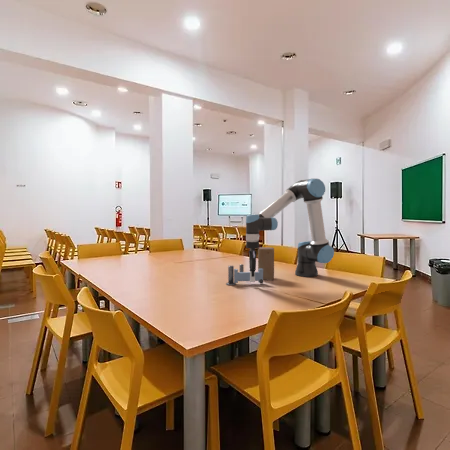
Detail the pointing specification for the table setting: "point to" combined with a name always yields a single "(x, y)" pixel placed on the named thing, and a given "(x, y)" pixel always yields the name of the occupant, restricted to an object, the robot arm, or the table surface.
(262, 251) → the wooden block
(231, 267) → the gate posts
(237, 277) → the grey i-beam block
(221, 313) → the table surface
